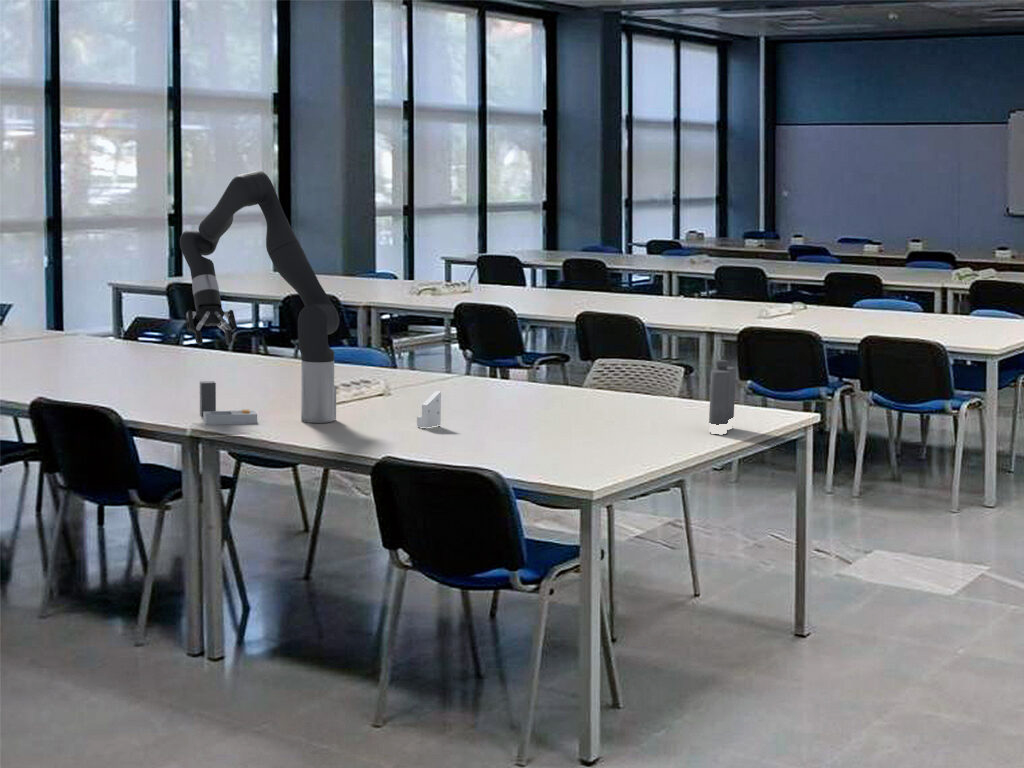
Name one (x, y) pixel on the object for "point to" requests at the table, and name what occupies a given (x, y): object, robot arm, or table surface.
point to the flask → (722, 393)
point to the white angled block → (431, 411)
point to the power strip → (229, 417)
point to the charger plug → (207, 396)
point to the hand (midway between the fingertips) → (214, 344)
